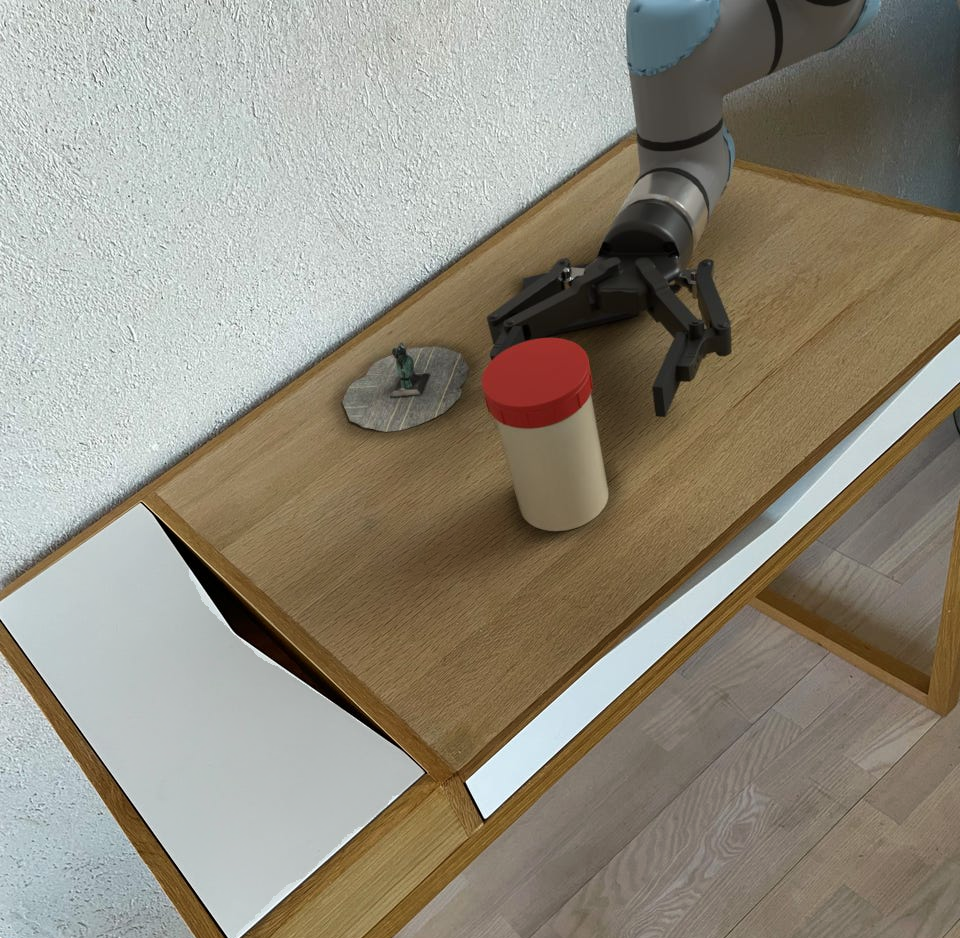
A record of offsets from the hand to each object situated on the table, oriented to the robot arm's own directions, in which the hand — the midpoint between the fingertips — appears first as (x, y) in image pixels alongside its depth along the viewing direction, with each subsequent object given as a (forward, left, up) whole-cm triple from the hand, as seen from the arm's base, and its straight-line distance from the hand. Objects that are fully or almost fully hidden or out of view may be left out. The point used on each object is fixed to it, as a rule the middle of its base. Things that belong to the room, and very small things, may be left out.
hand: (571, 396), depth 72 cm
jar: (+2, +5, -6) cm, 8 cm away
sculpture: (+15, -14, -6) cm, 22 cm away
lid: (+2, +5, +6) cm, 8 cm away
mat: (-2, -22, -6) cm, 23 cm away
